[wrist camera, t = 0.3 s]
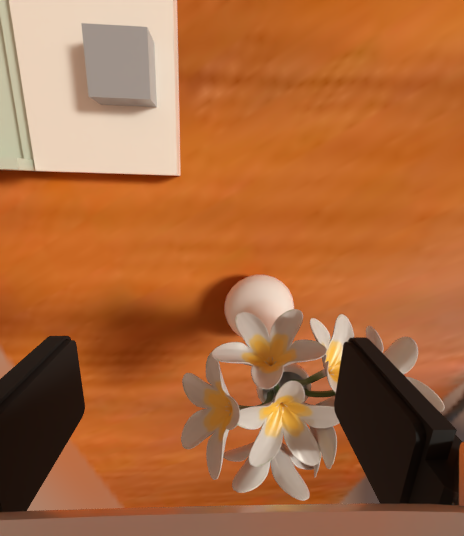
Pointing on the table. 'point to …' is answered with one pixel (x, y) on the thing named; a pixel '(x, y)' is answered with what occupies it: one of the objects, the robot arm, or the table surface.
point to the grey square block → (120, 65)
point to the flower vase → (278, 388)
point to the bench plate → (76, 89)
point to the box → (12, 102)
